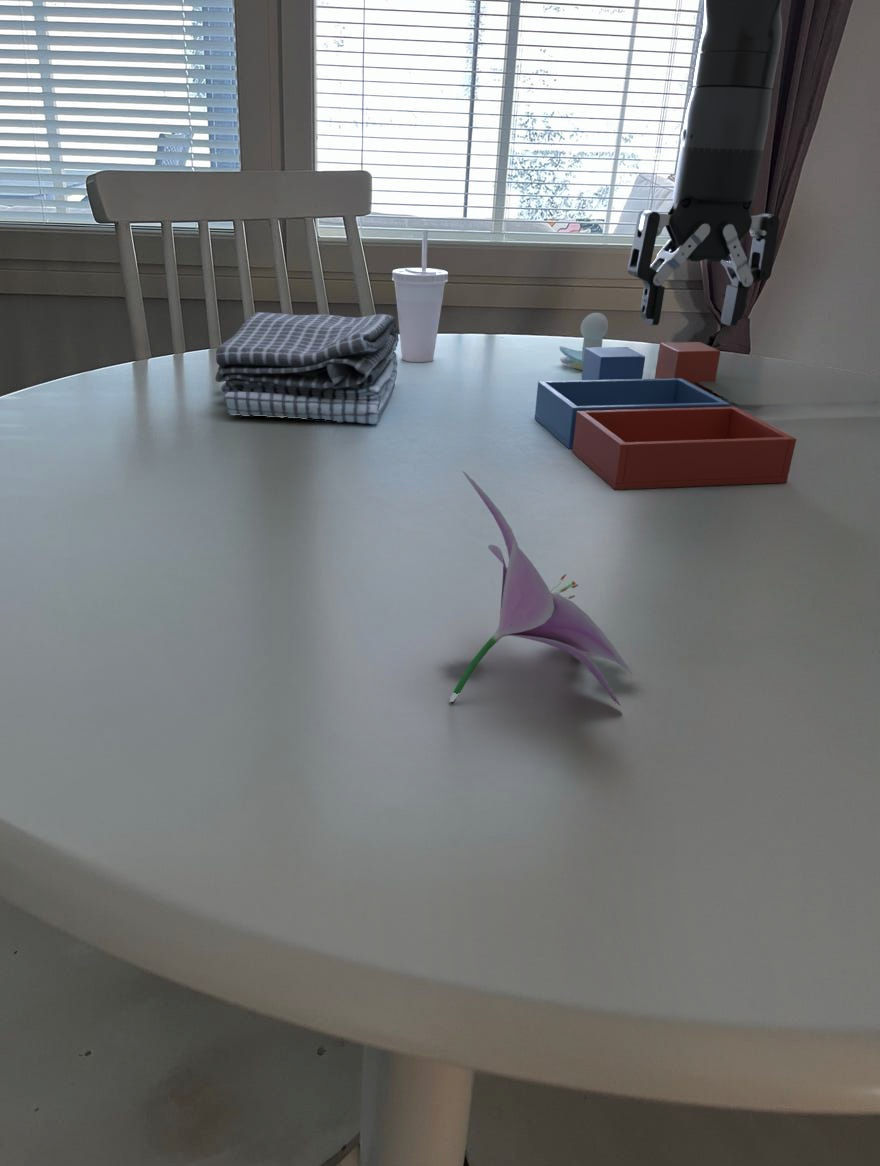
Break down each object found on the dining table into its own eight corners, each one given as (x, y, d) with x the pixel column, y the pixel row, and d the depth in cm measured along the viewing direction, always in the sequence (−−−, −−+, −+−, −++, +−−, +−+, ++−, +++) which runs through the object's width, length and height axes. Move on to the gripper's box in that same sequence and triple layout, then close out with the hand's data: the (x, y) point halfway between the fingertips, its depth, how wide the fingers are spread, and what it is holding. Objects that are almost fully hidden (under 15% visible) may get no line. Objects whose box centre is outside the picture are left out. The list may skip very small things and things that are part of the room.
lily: (601, 818, 38) (725, 612, 36) (345, 682, 38) (456, 470, 36) (576, 736, 50) (669, 577, 48) (381, 633, 50) (465, 470, 48)
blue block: (621, 391, 98) (627, 346, 96) (639, 403, 94) (645, 356, 92) (579, 392, 97) (584, 347, 95) (595, 404, 93) (601, 357, 91)
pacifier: (553, 362, 111) (560, 371, 105) (559, 306, 108) (565, 313, 103) (615, 363, 111) (625, 373, 105) (622, 308, 108) (632, 315, 103)
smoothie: (419, 367, 106) (424, 233, 99) (379, 358, 110) (380, 228, 103) (455, 359, 110) (462, 230, 104) (415, 350, 114) (418, 225, 107)
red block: (692, 385, 101) (700, 341, 99) (712, 396, 97) (721, 350, 95) (653, 386, 100) (659, 342, 98) (671, 397, 96) (678, 351, 94)
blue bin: (675, 414, 90) (681, 378, 89) (722, 443, 82) (730, 403, 80) (534, 418, 88) (537, 381, 86) (568, 448, 80) (572, 407, 78)
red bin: (727, 446, 81) (735, 406, 80) (786, 482, 73) (796, 438, 71) (571, 452, 79) (576, 410, 77) (614, 490, 71) (620, 444, 69)
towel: (401, 382, 100) (402, 305, 96) (376, 429, 84) (377, 338, 80) (261, 375, 101) (258, 299, 97) (211, 420, 85) (204, 331, 81)
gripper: (668, 142, 83) (639, 331, 91) (813, 148, 86) (773, 331, 93) (634, 141, 90) (610, 317, 97) (770, 146, 92) (735, 318, 100)
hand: (690, 324), depth 95 cm, fingers open, 8 cm apart
